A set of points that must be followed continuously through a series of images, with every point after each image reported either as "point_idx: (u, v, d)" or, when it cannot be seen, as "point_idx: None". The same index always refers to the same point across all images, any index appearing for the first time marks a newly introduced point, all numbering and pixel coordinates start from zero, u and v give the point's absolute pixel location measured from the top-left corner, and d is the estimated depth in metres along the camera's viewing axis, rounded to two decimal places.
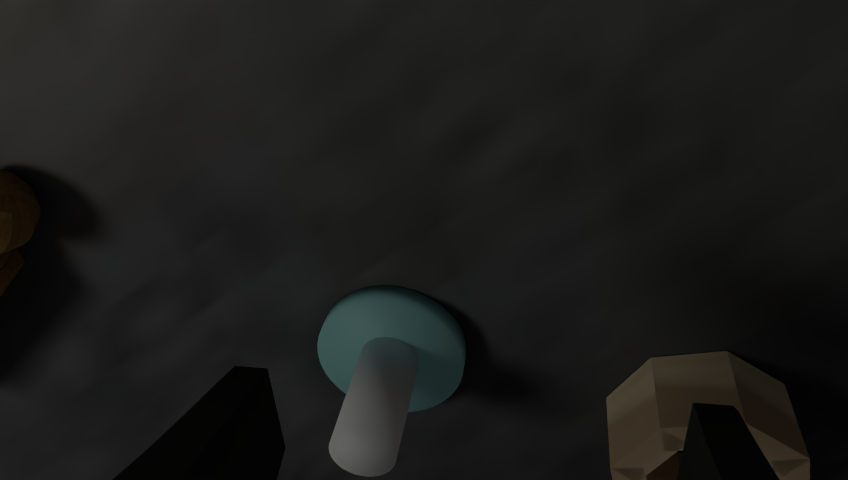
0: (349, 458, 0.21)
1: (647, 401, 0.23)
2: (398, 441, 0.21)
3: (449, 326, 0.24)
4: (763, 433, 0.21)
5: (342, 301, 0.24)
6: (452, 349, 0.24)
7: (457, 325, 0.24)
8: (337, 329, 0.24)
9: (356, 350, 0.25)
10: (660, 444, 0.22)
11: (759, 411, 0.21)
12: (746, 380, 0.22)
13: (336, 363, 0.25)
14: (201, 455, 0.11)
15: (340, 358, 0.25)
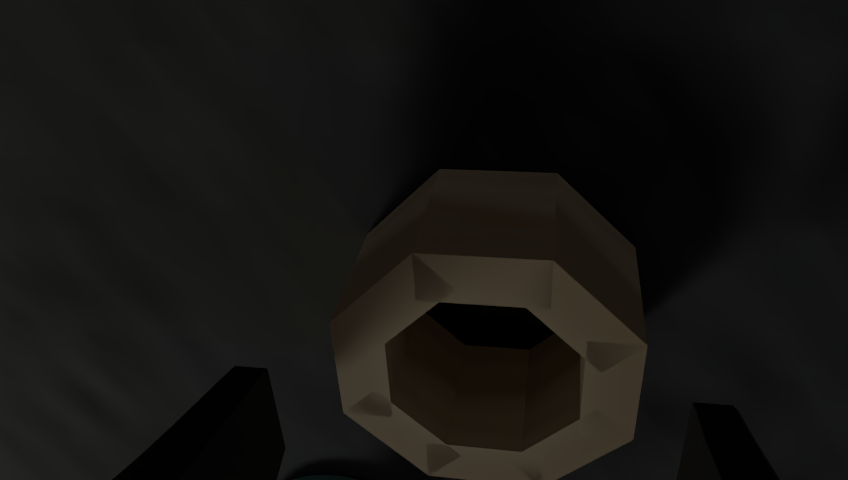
0: None
1: None
2: None
3: None
4: (352, 304, 0.13)
5: None
6: None
7: (315, 478, 0.21)
8: None
9: None
10: (376, 418, 0.14)
11: (365, 273, 0.14)
12: (372, 245, 0.15)
13: None
14: (201, 455, 0.11)
15: None
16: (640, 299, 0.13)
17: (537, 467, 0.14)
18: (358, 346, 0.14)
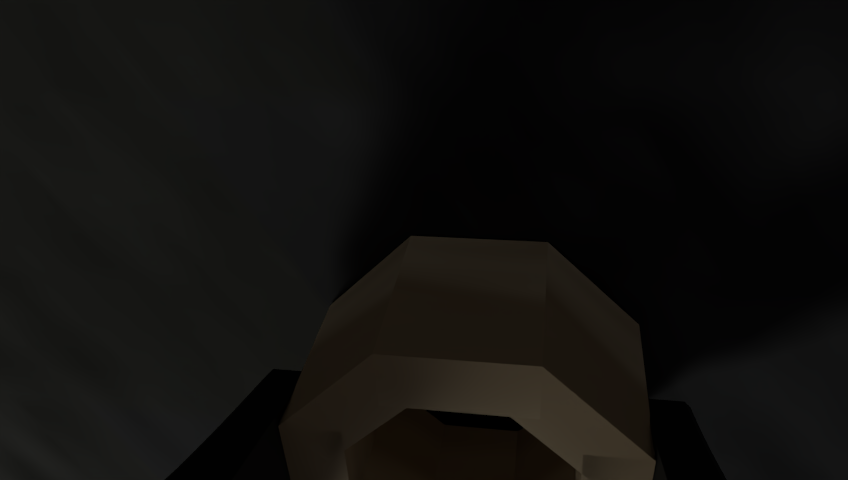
0: None
1: None
2: None
3: None
4: (304, 407, 0.11)
5: None
6: None
7: None
8: None
9: None
10: None
11: (321, 364, 0.12)
12: (333, 324, 0.13)
13: None
14: (247, 460, 0.10)
15: None
16: (646, 396, 0.11)
17: None
18: (312, 452, 0.11)
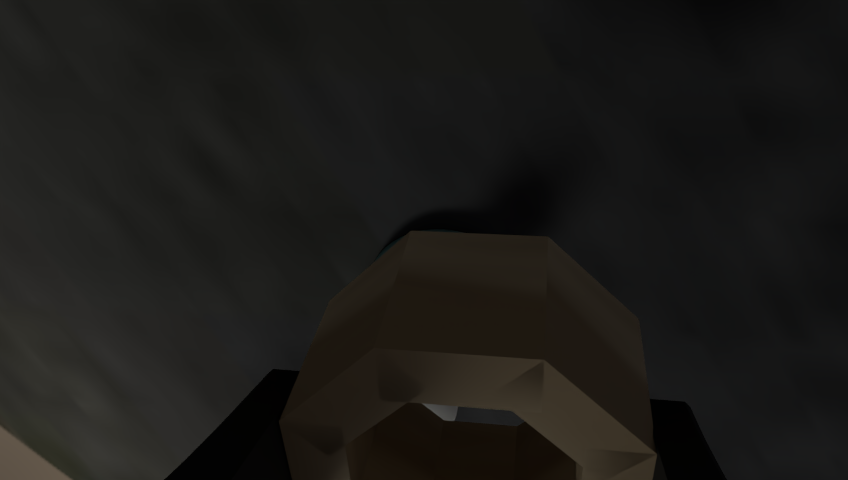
0: None
1: None
2: None
3: None
4: (305, 402, 0.11)
5: None
6: None
7: None
8: None
9: None
10: None
11: (322, 359, 0.12)
12: (333, 319, 0.13)
13: None
14: (247, 460, 0.10)
15: None
16: (646, 390, 0.11)
17: None
18: (313, 447, 0.11)
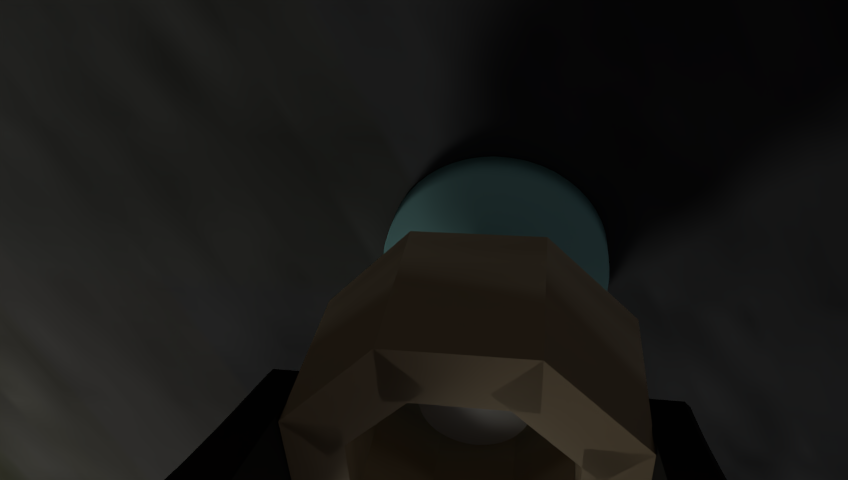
0: (483, 425, 0.13)
1: None
2: None
3: (448, 176, 0.15)
4: (304, 402, 0.11)
5: None
6: (485, 185, 0.15)
7: (468, 161, 0.16)
8: None
9: None
10: None
11: (321, 360, 0.12)
12: (333, 319, 0.13)
13: None
14: (247, 460, 0.10)
15: None
16: (646, 390, 0.11)
17: None
18: (313, 447, 0.11)
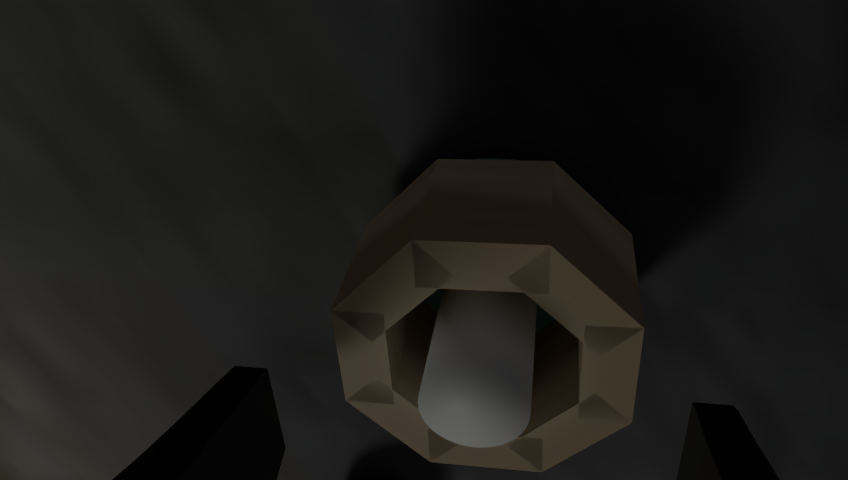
0: (482, 427, 0.13)
1: None
2: (481, 348, 0.13)
3: None
4: (353, 292, 0.13)
5: None
6: None
7: None
8: None
9: None
10: (379, 405, 0.15)
11: (365, 262, 0.14)
12: (372, 234, 0.15)
13: None
14: (201, 455, 0.11)
15: None
16: (637, 284, 0.14)
17: (537, 452, 0.15)
18: (359, 334, 0.14)
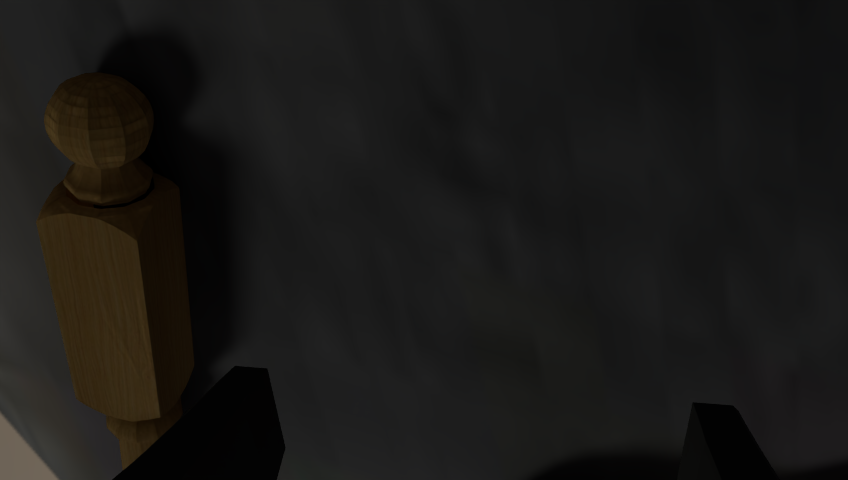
0: None
1: None
2: None
3: None
4: None
5: None
6: None
7: None
8: None
9: None
10: None
11: None
12: None
13: None
14: (201, 455, 0.11)
15: None
16: None
17: None
18: None
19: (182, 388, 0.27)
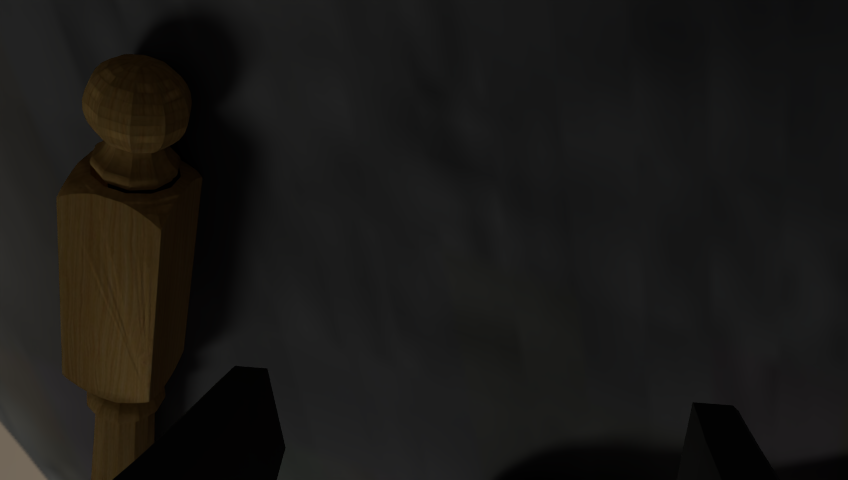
0: None
1: None
2: None
3: None
4: None
5: None
6: None
7: None
8: None
9: None
10: None
11: None
12: None
13: None
14: (201, 455, 0.11)
15: None
16: None
17: None
18: None
19: (170, 373, 0.26)
